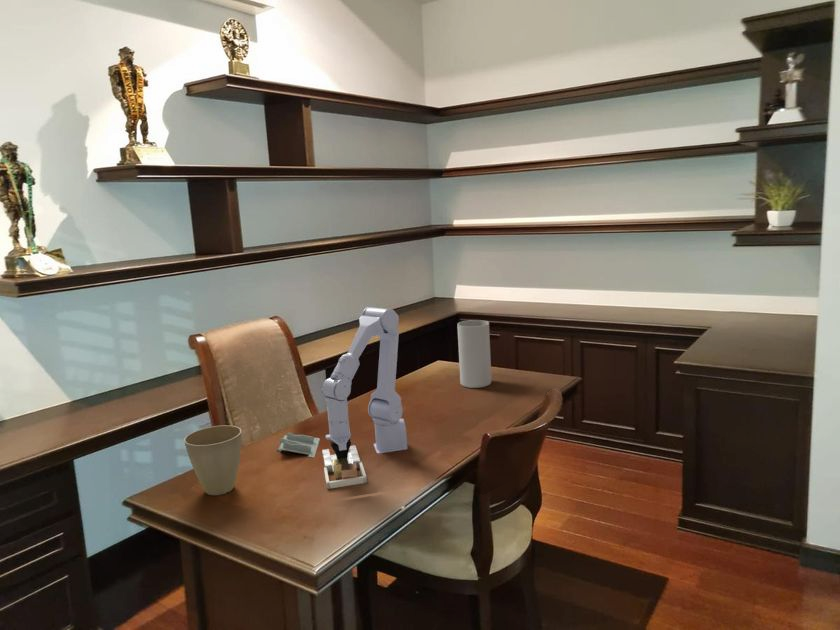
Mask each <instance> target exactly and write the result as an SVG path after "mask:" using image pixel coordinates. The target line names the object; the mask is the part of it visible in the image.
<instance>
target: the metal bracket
mask: <svg viewBox="0 0 840 630" xmlns="http://www.w3.org/2000/svg"><path fill="white" fill-rule="evenodd" d="M320 439H321V438H320V437H314V436H311V435H305V434H294V433H292V432H288V433H287V434H285V435H284V436H283V437H282V438H279V447H278V448H277V450H276V451H278V452H279V454H280V453H281V452H282V451H287V452H293V453H297V454H303V455H308V458H310V459H311V458H312V459H313V458H315V456H316V453H317V450H318V446H319V443H320Z"/></svg>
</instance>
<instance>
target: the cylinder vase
mask: <svg viewBox="0 0 840 630" xmlns="http://www.w3.org/2000/svg"><path fill="white" fill-rule="evenodd" d="M456 328H457V341H458V342H457V344H458V363H459V380H460V381H459V383H460V385H461V386H463V387H464V388H468V389H469V388H470V389H478V388H479V389H480V388H485V387H487V386H490V385H491V384H492V363H491V359H492V358H491V342H490V340H491V339H490V321H488V320H481V319H469V320H463V321H459V322H458V323H457V327H456Z"/></svg>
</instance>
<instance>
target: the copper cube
mask: <svg viewBox="0 0 840 630" xmlns="http://www.w3.org/2000/svg"><path fill="white" fill-rule="evenodd" d="M357 469H358V468H356V463H350V464H342V465H341V472H342V478H341V480H342V479H348V478H355V477H358V470H357Z"/></svg>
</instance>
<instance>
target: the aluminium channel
mask: <svg viewBox="0 0 840 630" xmlns="http://www.w3.org/2000/svg"><path fill="white" fill-rule="evenodd" d="M321 452H322V459H323V464H324V467H327V472H328V473H332V472H333V473H334V467H333V460H335V459H337V457H336V454H335V453H334V454H331V453H330V449H329V448H327V449H322V451H321ZM347 460H348V463H349V464H350V463H356V469H360V468H359V462H361V458H360V455H359V453H358V450H357V447H356V445H354V444H353V445H351V446H350V448H349V451H348V457H347Z"/></svg>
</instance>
